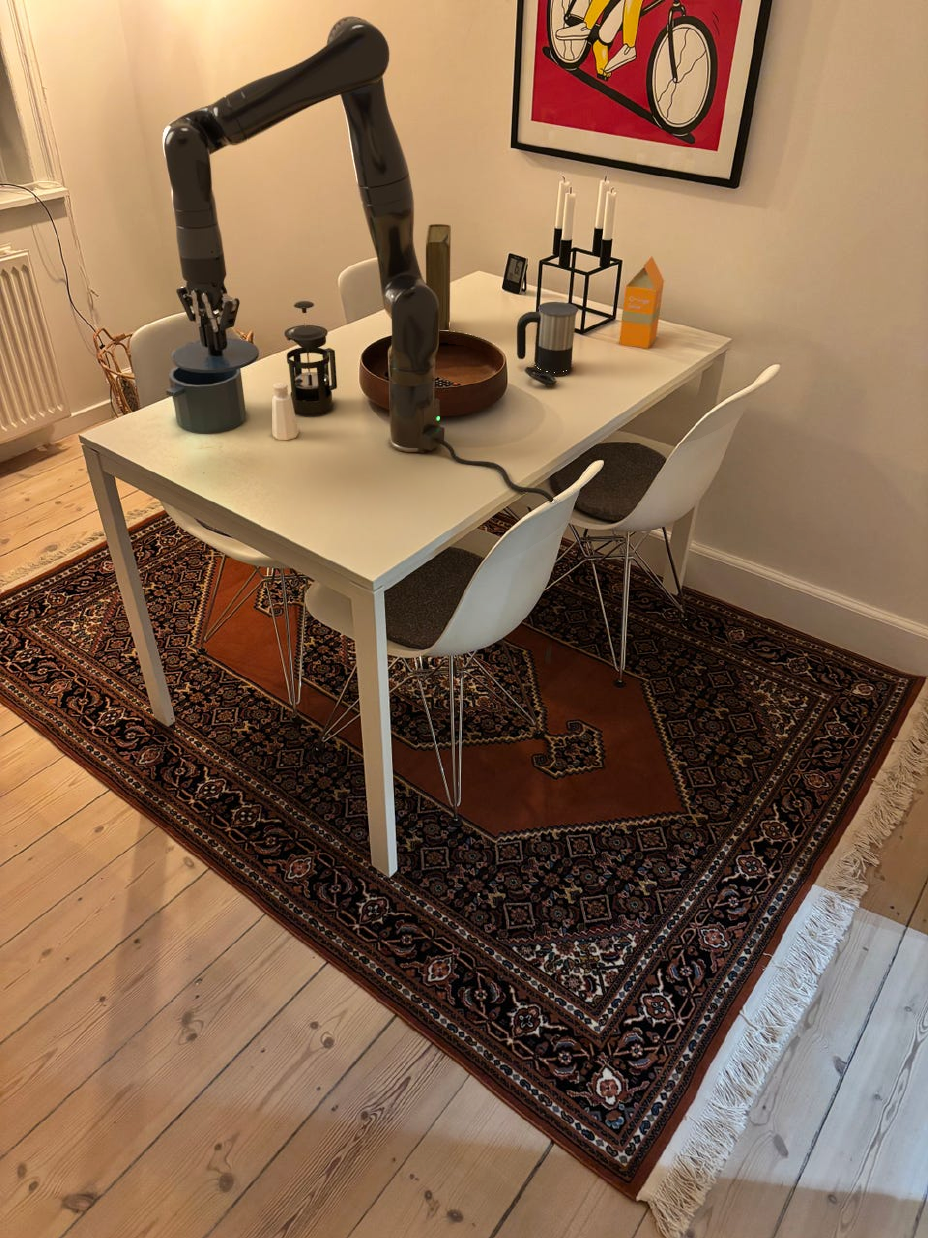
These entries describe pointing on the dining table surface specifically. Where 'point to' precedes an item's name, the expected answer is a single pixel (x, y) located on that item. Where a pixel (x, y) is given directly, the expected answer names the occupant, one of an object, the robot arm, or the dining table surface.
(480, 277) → the dining table surface
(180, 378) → the pot
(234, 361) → the lid
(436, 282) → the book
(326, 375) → the french press
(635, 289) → the orange juice
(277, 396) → the pepper shaker
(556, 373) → the milk frother
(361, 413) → the dining table surface
